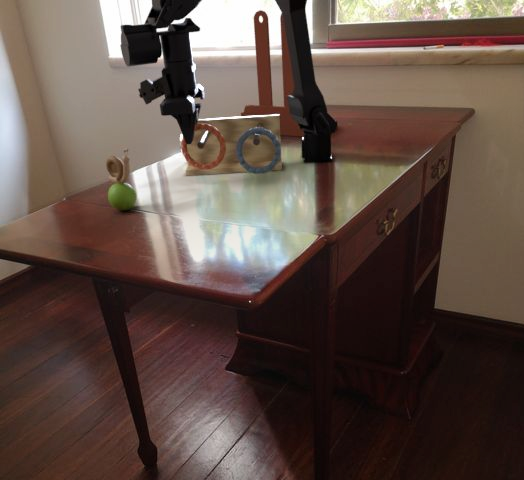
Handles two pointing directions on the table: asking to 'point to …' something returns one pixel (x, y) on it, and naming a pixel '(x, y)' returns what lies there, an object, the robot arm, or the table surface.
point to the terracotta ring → (221, 153)
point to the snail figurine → (120, 183)
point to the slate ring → (269, 135)
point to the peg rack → (235, 144)
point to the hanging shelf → (264, 78)
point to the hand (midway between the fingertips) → (189, 143)
